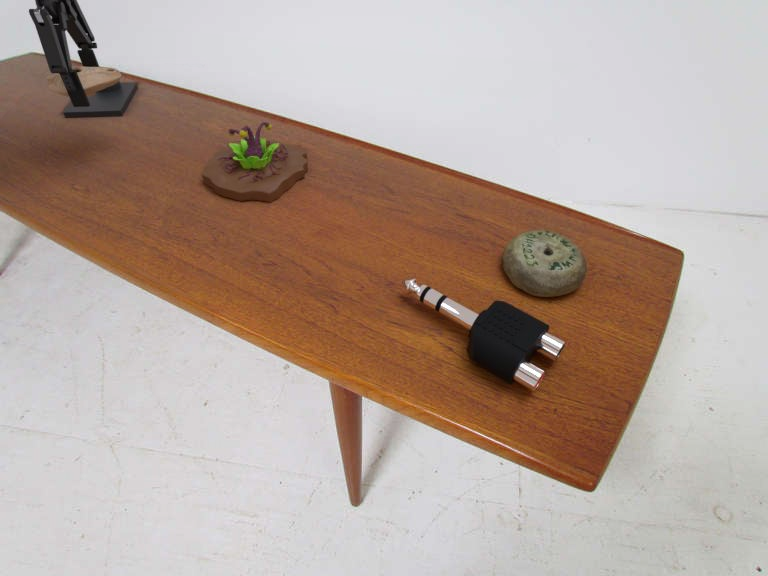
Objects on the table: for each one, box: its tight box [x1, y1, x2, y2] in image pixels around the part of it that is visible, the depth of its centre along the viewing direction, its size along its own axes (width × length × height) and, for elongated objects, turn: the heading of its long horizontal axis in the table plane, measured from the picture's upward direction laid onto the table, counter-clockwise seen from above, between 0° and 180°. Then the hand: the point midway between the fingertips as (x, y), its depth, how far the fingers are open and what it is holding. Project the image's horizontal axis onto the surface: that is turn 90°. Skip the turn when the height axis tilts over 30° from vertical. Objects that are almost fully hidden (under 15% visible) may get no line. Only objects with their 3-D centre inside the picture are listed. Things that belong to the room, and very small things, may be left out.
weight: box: [501, 229, 588, 298], centre depth 81 cm, size 14×13×5 cm
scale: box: [62, 80, 139, 119], centre depth 123 cm, size 13×16×4 cm
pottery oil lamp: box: [45, 65, 122, 98], centre depth 96 cm, size 9×12×7 cm
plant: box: [201, 121, 309, 203], centre depth 99 cm, size 20×20×11 cm
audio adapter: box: [401, 278, 567, 392], centre depth 72 cm, size 11×5×25 cm
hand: (90, 94), depth 97 cm, fingers closed on pottery oil lamp, 9 cm apart
